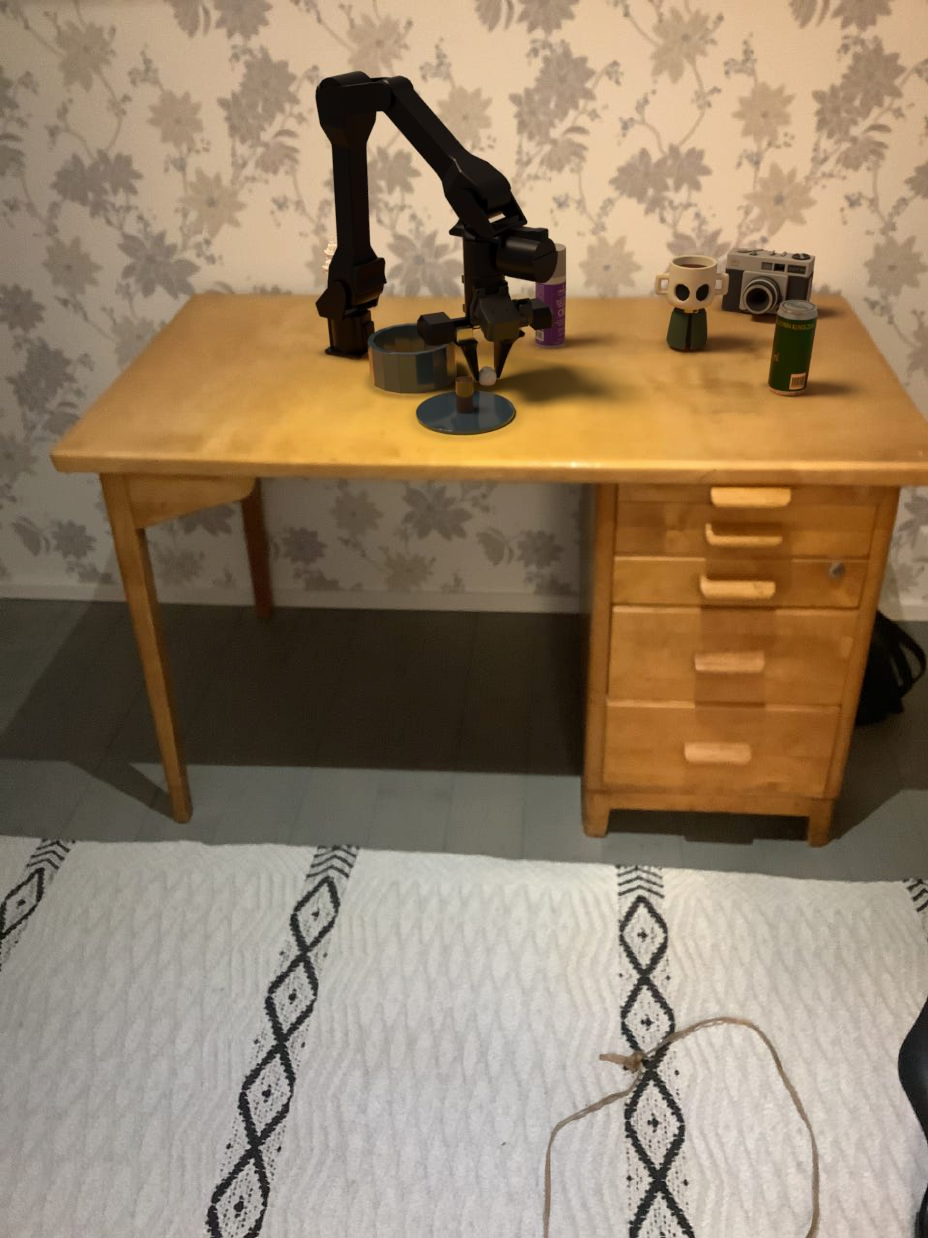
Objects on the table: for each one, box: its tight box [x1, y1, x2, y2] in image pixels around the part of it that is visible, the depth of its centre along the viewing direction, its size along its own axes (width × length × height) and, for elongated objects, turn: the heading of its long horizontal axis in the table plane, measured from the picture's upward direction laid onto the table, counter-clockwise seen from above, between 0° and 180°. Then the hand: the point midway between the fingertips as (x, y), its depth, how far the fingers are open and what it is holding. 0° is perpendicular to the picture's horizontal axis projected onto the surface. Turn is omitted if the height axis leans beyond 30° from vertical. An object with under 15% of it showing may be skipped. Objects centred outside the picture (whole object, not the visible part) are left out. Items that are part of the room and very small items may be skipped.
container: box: [534, 242, 567, 350], centre depth 168 cm, size 5×5×15 cm
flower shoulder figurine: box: [322, 235, 337, 282], centre depth 185 cm, size 9×4×12 cm, turn 171°
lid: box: [415, 375, 516, 436], centre depth 149 cm, size 14×14×6 cm
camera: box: [721, 247, 816, 318], centre depth 177 cm, size 14×9×10 cm, turn 55°
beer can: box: [767, 300, 819, 397], centre depth 151 cm, size 5×5×12 cm
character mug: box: [653, 254, 729, 350], centre depth 166 cm, size 11×7×13 cm, turn 84°
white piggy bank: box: [478, 365, 497, 386], centre depth 158 cm, size 3×3×3 cm
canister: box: [367, 322, 458, 395], centre depth 160 cm, size 13×13×6 cm
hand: (487, 379), depth 158 cm, fingers closed on white piggy bank, 3 cm apart
